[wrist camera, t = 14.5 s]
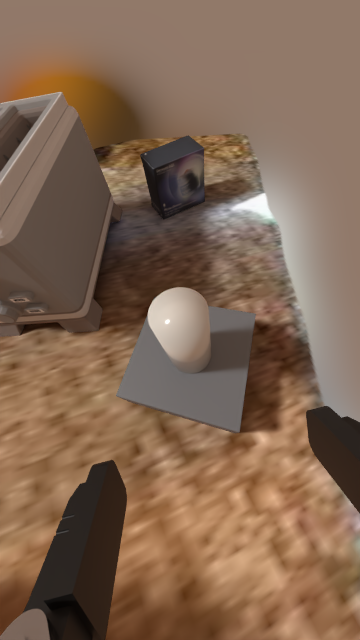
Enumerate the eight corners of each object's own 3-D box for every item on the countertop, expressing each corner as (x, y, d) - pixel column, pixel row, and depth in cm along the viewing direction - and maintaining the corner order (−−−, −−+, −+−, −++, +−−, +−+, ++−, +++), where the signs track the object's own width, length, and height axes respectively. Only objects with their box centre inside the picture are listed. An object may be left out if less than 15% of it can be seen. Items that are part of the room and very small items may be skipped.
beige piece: (165, 368, 26) (139, 335, 17) (176, 331, 28) (157, 284, 19) (206, 377, 25) (201, 346, 16) (214, 337, 27) (213, 290, 18)
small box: (163, 221, 46) (152, 168, 37) (151, 206, 49) (138, 153, 40) (206, 202, 48) (205, 146, 38) (192, 188, 51) (187, 133, 42)
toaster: (-14, 354, 36) (-232, 274, 18) (45, 219, 52) (-39, 107, 35) (95, 348, 34) (-31, 252, 16) (122, 210, 50) (73, 85, 32)
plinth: (130, 401, 29) (115, 395, 25) (161, 314, 35) (154, 296, 31) (234, 433, 26) (239, 432, 22) (249, 330, 32) (255, 313, 28)
